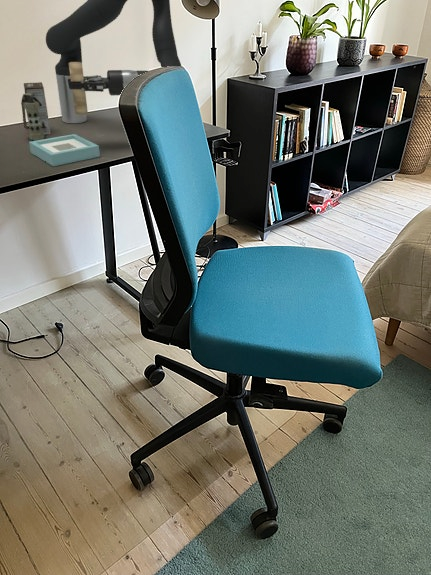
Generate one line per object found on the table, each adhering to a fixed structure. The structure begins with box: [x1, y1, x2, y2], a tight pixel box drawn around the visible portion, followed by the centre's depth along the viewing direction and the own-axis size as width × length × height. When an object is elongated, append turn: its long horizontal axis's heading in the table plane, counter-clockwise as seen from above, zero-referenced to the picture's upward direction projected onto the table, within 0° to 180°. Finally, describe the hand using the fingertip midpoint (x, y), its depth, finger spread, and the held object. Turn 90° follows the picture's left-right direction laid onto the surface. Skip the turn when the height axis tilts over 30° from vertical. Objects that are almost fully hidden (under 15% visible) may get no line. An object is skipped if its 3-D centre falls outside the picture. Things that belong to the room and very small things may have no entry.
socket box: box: [28, 133, 101, 167], centre depth 150 cm, size 16×16×4 cm
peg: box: [69, 62, 89, 115], centre depth 149 cm, size 4×4×15 cm
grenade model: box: [20, 92, 46, 141], centre depth 161 cm, size 6×7×15 cm
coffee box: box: [23, 81, 52, 136], centre depth 167 cm, size 9×6×16 cm
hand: (68, 84), depth 147 cm, fingers closed on peg, 4 cm apart
